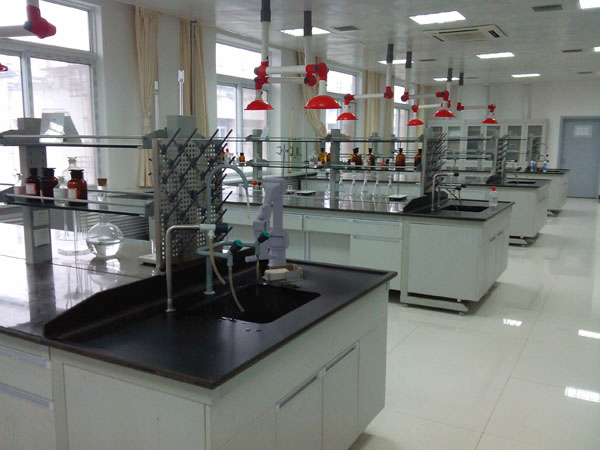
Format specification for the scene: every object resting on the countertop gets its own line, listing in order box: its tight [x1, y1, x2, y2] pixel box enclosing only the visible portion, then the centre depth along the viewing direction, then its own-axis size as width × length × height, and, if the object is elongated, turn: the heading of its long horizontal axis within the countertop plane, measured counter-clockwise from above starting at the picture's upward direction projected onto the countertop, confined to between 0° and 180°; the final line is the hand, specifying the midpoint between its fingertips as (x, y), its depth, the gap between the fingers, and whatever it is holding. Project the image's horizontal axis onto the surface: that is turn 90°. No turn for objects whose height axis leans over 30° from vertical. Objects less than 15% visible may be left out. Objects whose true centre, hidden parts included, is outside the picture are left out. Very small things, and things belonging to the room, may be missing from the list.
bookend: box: [284, 270, 304, 282], centre depth 230 cm, size 4×7×4 cm, turn 112°
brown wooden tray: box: [268, 263, 304, 279], centre depth 236 cm, size 11×12×4 cm
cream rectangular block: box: [262, 268, 288, 282], centre depth 234 cm, size 7×11×3 cm, turn 112°
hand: (262, 276), depth 232 cm, fingers closed
